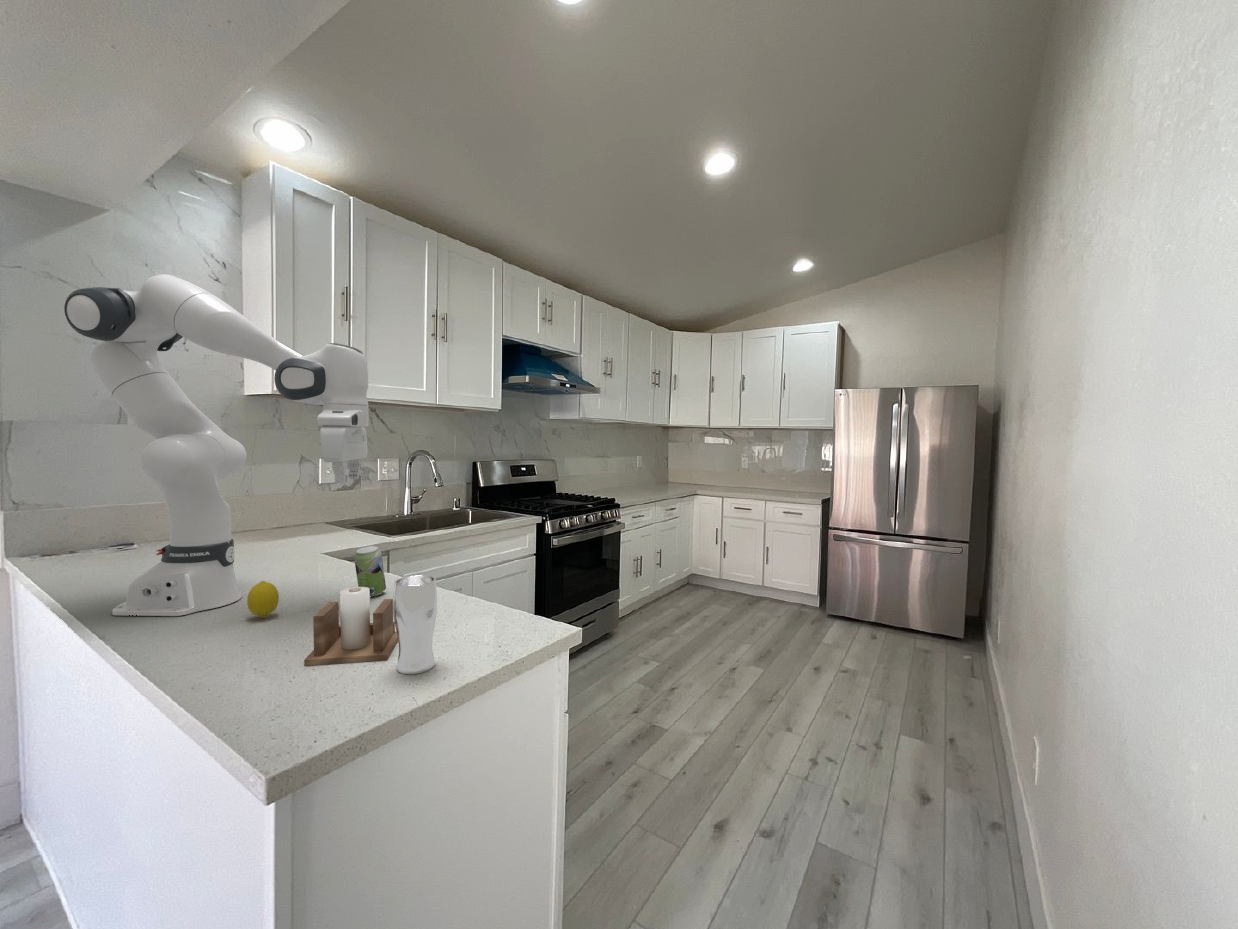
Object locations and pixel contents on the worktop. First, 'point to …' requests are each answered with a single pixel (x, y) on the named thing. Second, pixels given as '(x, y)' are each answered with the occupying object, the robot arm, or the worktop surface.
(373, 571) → the beverage can
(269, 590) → the lemon
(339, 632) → the holder
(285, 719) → the worktop surface
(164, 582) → the robot arm
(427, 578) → the beer glass
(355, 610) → the roll
